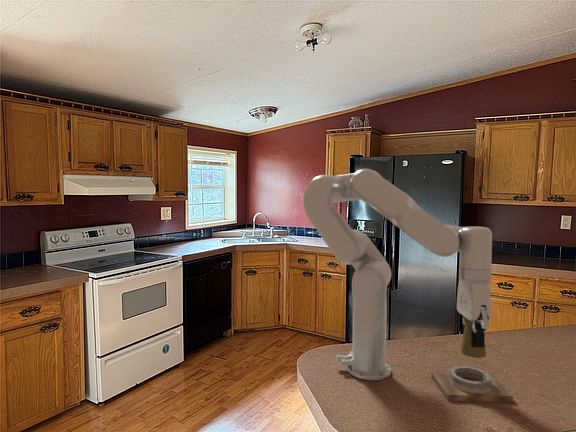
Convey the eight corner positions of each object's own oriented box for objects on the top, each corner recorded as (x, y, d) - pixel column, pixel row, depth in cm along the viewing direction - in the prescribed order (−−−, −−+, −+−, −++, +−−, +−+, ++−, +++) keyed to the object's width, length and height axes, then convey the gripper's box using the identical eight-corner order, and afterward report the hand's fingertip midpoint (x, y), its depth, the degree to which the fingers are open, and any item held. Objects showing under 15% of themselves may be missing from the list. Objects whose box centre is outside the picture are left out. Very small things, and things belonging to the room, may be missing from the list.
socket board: (448, 400, 98) (448, 385, 97) (431, 377, 110) (432, 363, 109) (512, 402, 97) (513, 386, 97) (489, 378, 109) (489, 364, 109)
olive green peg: (489, 358, 99) (490, 316, 98) (463, 356, 100) (464, 314, 100) (482, 349, 105) (483, 308, 104) (458, 347, 106) (459, 307, 105)
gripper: (447, 268, 110) (446, 331, 111) (474, 281, 93) (473, 356, 94) (474, 267, 110) (473, 331, 111) (506, 281, 93) (504, 356, 94)
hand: (473, 342), depth 102 cm, fingers closed on olive green peg, 4 cm apart
